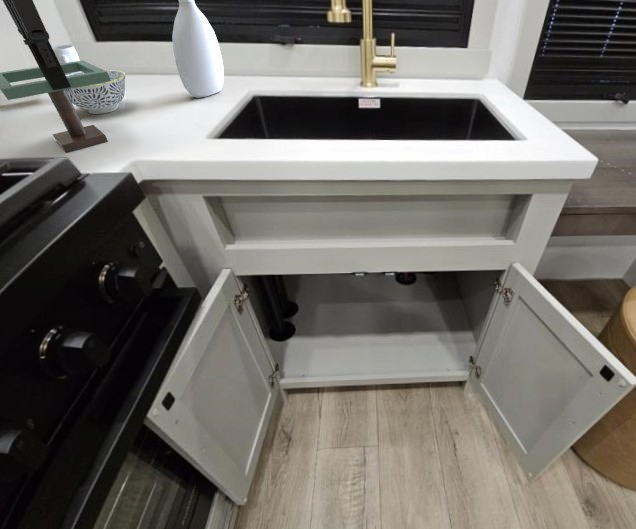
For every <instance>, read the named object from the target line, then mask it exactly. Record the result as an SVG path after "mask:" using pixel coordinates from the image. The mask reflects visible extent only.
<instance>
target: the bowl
mask: <svg viewBox="0 0 636 529" xmlns="http://www.w3.org/2000/svg"><path fill="white" fill-rule="evenodd" d="M104 70H105V71H107V73H108V75H109V78H110V80H111V81H110V82H104V83H99V84H93V85H88V86H82V87H77V88H71V89H66V92H67V94H68V96H69V98H70V100H71V102H72V104H73V106H76V107H78V108H80V109H83V110H87V111H88V113H89V114H93V115H103V114H109V113H111V112H115V111H117V110H118V109H119V104H120V103H121V102H122V101H123V99H124V97H125V95H126V72H124V71H122V70H118V69H104ZM79 74H85V73H83V72H78V73H73V74H69V75H65V76H66V77H67V76H73V75H79Z"/></svg>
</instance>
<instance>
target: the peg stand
mask: <svg viewBox="0 0 636 529" xmlns="http://www.w3.org/2000/svg"><path fill="white" fill-rule="evenodd" d="M47 95H48V97H49V98H50V101H51V103H52V104H53V106H54V108H55V110H56V111H57V114H58V116H59V117H60V119H61V121H62V123H63V125H64V127H65V129H66V130H65V131H61V132H56V133H53V134H52V136H53V139H54V140H55V142H56V144H58V145H59V147H60V148H61V149H62V150H63V151H64V152H65V153H69V152H73V151H77V150H82V149H84V148H85V149H86V148H88V147H93V146H96V145H100V144H103V143H107V142H109V140H108V138H107V136H106V134H105V133H104V132H103V131H101V130H100V129H99V128H98V127H97V126H95V125H94V124H91V125H86V126H84V124H83V123H82V121H81V118H80V116H79V115H78V113H77V110H76V109H75V105H74V104H73V103H72V102H71V100H70V98H69V96H68V94H67V92H66V90H60V91H55V92H50V93H47Z"/></svg>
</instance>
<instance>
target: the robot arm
mask: <svg viewBox="0 0 636 529" xmlns="http://www.w3.org/2000/svg"><path fill="white" fill-rule="evenodd" d="M2 2H3V4H4V6H5V8H6V10H7V11H8V14H9V15H10V17H11V19H12V21H13V23H14V24H15V26H16V28H17V31H18V33H19V35H21V36H22V38H23V40H22V41H23V43H24V45H26V46H27V47H28V49H29V51H30V52H31V54H32V56H33V58H34V60H35V62H36V64H37V67H39V68H40V70H41V72H42V74H43V75H44V77H43V78H44V80H45V79H46V80H48V82H49V84H50V86H51V87H52V89H53V90H57V89H63V88H68V87H71V86H70V84H69V82H68V80H67V78H66V76H65V73H64V71H63V69H62V67H61V65H60V63H59V61H58V59H57V57H56V55H55V53H54V51H53V49H52V46H53V45H52V44H51V42H50V34H49V32H48V31H47V29H46V26H45V25H44V23H43V20H42V18H41V16H40V13H39V11H38V9H37V7H36V4H35V3H34V0H2Z"/></svg>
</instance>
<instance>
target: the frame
mask: <svg viewBox="0 0 636 529" xmlns="http://www.w3.org/2000/svg"><path fill="white" fill-rule="evenodd" d="M60 65H61V67H62V69H63V71H64V73H65V74H68V73H74V72H80V71H81V72H83V73H85V74H79V75H73V76H67V77H66V78H67V80H68V82H69V84H70V86H71V87H68V88H63V89H57V90H53V89H52V87H51V86H50V84H49V82H48V80H45V79H43V80H38V81H31V80H35V79H42V78H45V77H44V75H43V74H42V72H41V70H40V68H39V66H35V67H28V68H22V69H16V70H7V71H2V72H0V91H1V93H2V94H3V96H4V98H6V99H7V101H10V100H16V99H21V98H26V97H27V98H28V97H33V96H38V95H44V94H48V93H50V92H55V91H60V90H66V89H71V88H77V87H82V86H88V85H93V84H99V83H104V82H110V81H111V80H110V78H109V75H108V73H107V71H105V70H106V69H102V68H101V67H98V66H96V65H94V64H92V63H90V62H87V61H85V60H80V61H75V62H69V63H62V64H60ZM29 80H30V81H31V82H25V83H20V84H14V85H12V84H11V83H18V82H24V81H29Z"/></svg>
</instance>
